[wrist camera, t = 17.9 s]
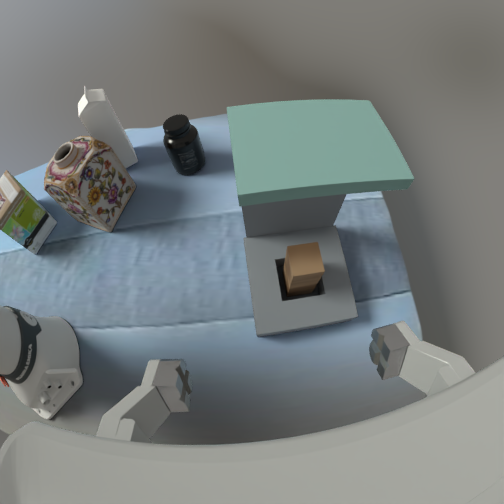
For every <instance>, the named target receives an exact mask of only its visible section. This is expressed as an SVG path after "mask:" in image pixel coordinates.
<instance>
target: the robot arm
mask: <svg viewBox="0 0 504 504" xmlns="http://www.w3.org/2000/svg"><path fill="white" fill-rule="evenodd" d="M371 337H372V338H373V341H372V342H371V343H370V347H369V352H370V357H371V360H372V362H373V363H374V364H376V365H378V367H377V371H378V373H379V375H380V377H381V379H382V380H385V379H389V378H392V377H395V376H398V375H399V377H401V378H403V379H404V380H406V381H407V382H409V383H410V384H412V385H413V386H415V387H417V388H418V389H420V390H421V391H423V392H424V393H426V394H427V396H426V398H424V399H422V400H419V401H417V402H414V403H412V404H409V405H407V406H404V407H402V408H399V409H396V410H393V411H391V412H388V413H385V414H382V415H379V416H376V417H373V418H370V419H366V420H363V421H360V422H356V423H353V424H349V425H345V426H341V427H338V428H333V429H329V430H325V431H320V432H316V433H311V434H306V435H300V436H295V437H289V438H282V439H275V440H267V441H259V442H248V443H236V444H218V445H173V444H155V443H152V442H151V441H150V440H149V439H150V438H151V437H152V436H153V434H154V433H155V432H156V431H157V430H158V428H159V427H160V426H161V425H162V423H163V422H164V421H165V420H166V419H167V417H168V416H169V415H170V414H171V413H170V412H189V409H190V401H191V400H190V397H189V394H190V393H191V392H192V379H191V375H190V373H189V371H187V370H186V363H185V361H184V359H161V360H150V361H149V362H148V365H147V368H146V371H145V374H144V377H143V380H142V383H141V386H137V387H136V388H135V389H134V390H133V391H131V392H130V393H129V394H128V395H127V396H126V397H124V398H123V399H122V400H121V401H120V402H118V403H117V404H116V405H115V406H114V407H112V408H111V409H110V410H109V411H108V412H106V413H105V414H104V415H103V417H102V420H101V422H100V425H99V428H98V431H97V434H96V436H93V435H88V434H83V433H79V432H74V431H70V430H66V429H62V428H58V427H54V426H51V425H47V424H44V423H41V422H37V421H32V422H30V423H28V424H26V425H24V426H23V427H21V428H20V429H18V430H17V431H15V432H14V433H12V434H11V435H10V436H9V437H8V438H7V439H6V441H5V443H4V444H3V446H2V448H1V449H0V504H504V356H502V357H501V358H499V359H498V360H496V361H495V362H493V363H491V364H490V365H488V366H487V367H485V368H483V369H482V370H480V371H478V372H476V373H475V371H474V370H473V369H472V368H471V366H470V365H469V364H468V363H467V361H466V360H465V359H464V358H463V357H462V356H459V355H457V354H454V353H452V352H449V351H447V350H444V349H442V348H439V347H437V346H434V345H432V344H430V343H427V342H425V341H421V342H420V340H419V339H418V338H417V337H416V335H415V334H414V333H413V331H412V330H411V329H410V328H409V327H408V325H407V324H406V323H405V322H404V321H400V322H397V323H393V324H390V325H386V326H383V327H379V328H375V329H373V331H372V334H371ZM4 377H5V378H6V379H7V380H8V382H9V384H10V386H11V388H12V390H13V391H14V393H15V394H16V396H17V397H18V398H19V399H20V401H21V402H22V403H24V404H25V405H26V406H28V407H30V408H32V409H33V410H34V411H35V412H36V413H37V414H39V415H40V416H41V417H43V418H45V419H51V418H52V417H53V416H54V415H55V414H56V413H57V412H58V411H59V409H60V408H61V407H62V406H63V405H64V404H65V403H66V402H67V401H68V400H69V399H70V397H71V396H72V395H73V394H74V393H75V392H76V391H77V390H78V389H79V388H80V387H81V385H82V384H83V378H82V374H81V371H80V367H79V346H78V342H77V338H76V335H75V333H74V331H73V329H72V328H71V326H70V325H69V324H68V323H67V322H66V321H65V320H64V319H62V318H60V317H57V316H51V317H37V316H32V315H31V314H28V313H26V312H24V311H21V310H18V309H15V308H12V307H9V306H3V307H2V306H0V379H1V381H2V383H3V384H4V386H5V387H6V385H7V386H8V387H9V384H8V383H7V381H6V379H5V378H4ZM73 382H74V384H73ZM5 384H6V385H5Z"/></svg>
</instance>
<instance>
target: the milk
mask: <svg viewBox="0 0 504 504" xmlns="http://www.w3.org/2000/svg"><path fill="white" fill-rule="evenodd" d="M84 91H85V94H84V95H83V97H82V98H81V100H80V101H79V103H78V111H79V112H78V113H79V118H80V119H81V121H82V123H83V124H84V126H85V127H86V129H87V131H88V132H89V134H90V135H91V137H94V138H96V139H97V140H99V141H102V142H104V143H106V144H107V145H110V146H111V147H112V149H113V150H114V152H115V153H116V155H117V157H118V158H119V160H120V161H121V163H122V164H123V166H124V167H125V169H126V168H128V167H130V166H131V165H133V164H135V163H137V162H138V159H137V156H136V153H135V151H134V148H133V146H132V144H131V142H130V140H129V138H128V137H127V135H126V133H125V131H124V129H123V127H122V126H121V123H120V121H119V120H118V118H117V116H116V114H115V112H114V110H113V108H112V106H111V104H110V102H109V100H108V98H107V96H106V94H105V92H104V90H103V89H95V90H87V89H86V87H85V85H84Z"/></svg>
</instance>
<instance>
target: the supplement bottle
mask: <svg viewBox="0 0 504 504" xmlns="http://www.w3.org/2000/svg"><path fill="white" fill-rule="evenodd" d="M163 129H164V132H165V136H164V139H163V142H164V145H165V148H166V150H167V152H168V155H169V157H170V159H171V161H172V164H173V166H174V168H175V170H176V171H177V172H178V173H180V174H182V175H191V174H194V173H196V172H198V171H199V170H201V169H202V167H203V166H204V164H205V155H204V151H203V148H202V144H201V141H200V138H199V134H198V131H197V129H196V128H195V127H194V126H193V125H191V124H190V122H189V120H188V118H187V117H186V116H185V115H182V114H181V115H175V116H172V117H170V118H168V119H167V120H166V121H165V122H164V124H163Z"/></svg>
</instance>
